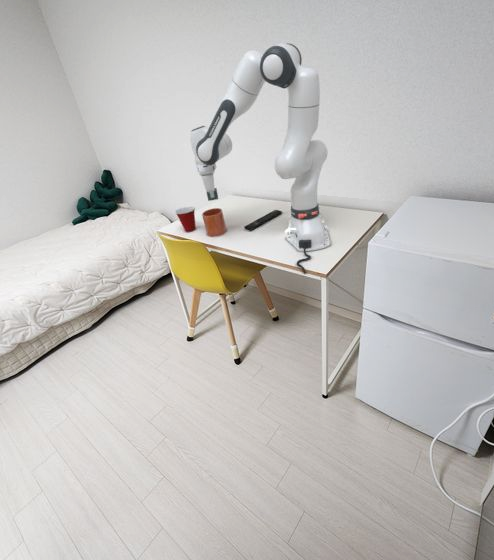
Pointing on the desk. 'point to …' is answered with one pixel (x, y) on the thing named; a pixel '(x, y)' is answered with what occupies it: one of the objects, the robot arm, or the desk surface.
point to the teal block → (214, 195)
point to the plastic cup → (187, 218)
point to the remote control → (262, 220)
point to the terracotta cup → (214, 222)
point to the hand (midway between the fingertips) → (212, 195)
